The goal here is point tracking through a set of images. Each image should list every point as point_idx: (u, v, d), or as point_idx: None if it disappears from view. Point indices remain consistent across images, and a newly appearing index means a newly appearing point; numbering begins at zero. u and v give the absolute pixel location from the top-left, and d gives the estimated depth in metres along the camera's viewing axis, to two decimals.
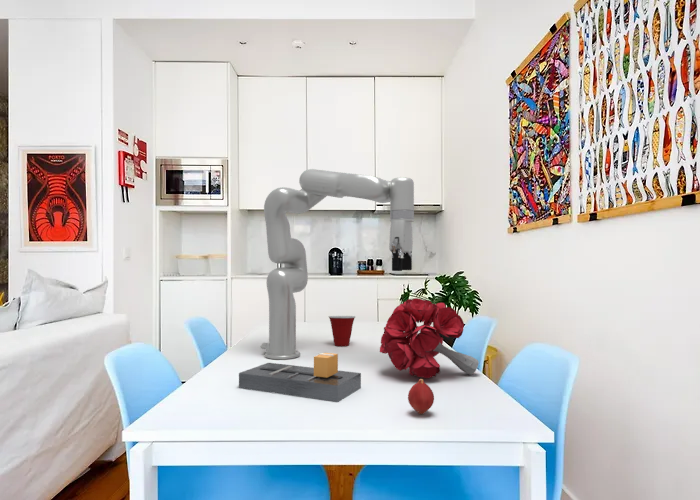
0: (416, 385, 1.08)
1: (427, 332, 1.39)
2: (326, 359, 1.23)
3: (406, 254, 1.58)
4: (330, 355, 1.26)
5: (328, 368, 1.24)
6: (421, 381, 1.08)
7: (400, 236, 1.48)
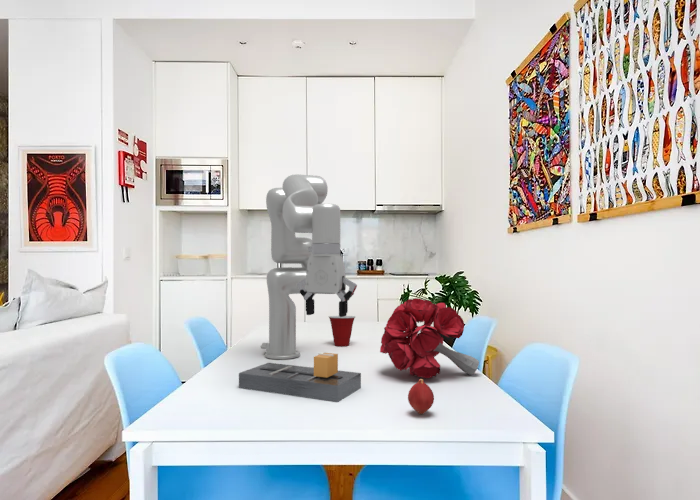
0: (416, 385, 1.08)
1: (427, 332, 1.39)
2: (326, 359, 1.23)
3: None
4: (330, 355, 1.26)
5: (328, 368, 1.24)
6: (421, 381, 1.08)
7: None
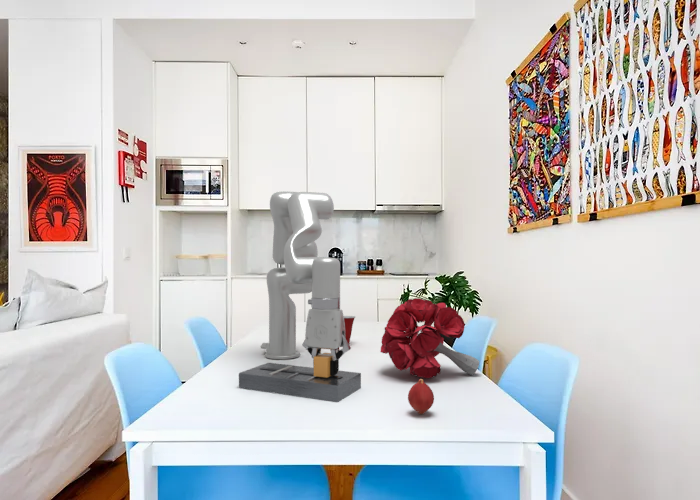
0: (416, 385, 1.08)
1: (428, 332, 1.39)
2: (326, 359, 1.23)
3: None
4: (330, 355, 1.26)
5: (328, 368, 1.24)
6: (421, 381, 1.08)
7: (344, 329, 1.26)
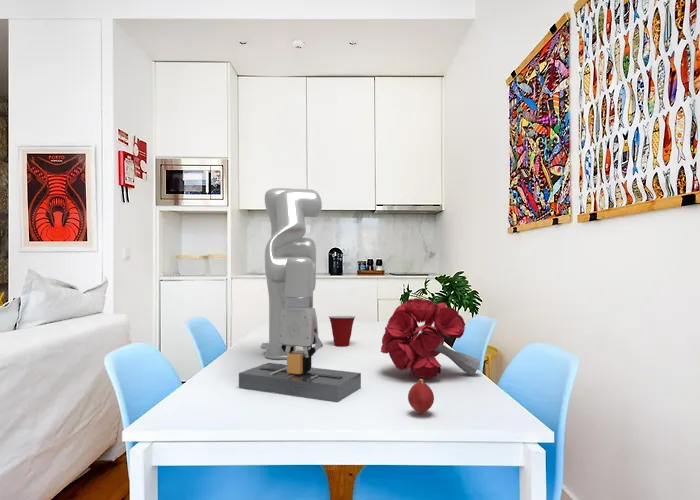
0: (416, 385, 1.08)
1: (428, 332, 1.39)
2: (298, 356, 1.27)
3: None
4: (303, 352, 1.29)
5: (301, 365, 1.27)
6: (421, 381, 1.08)
7: (317, 327, 1.29)
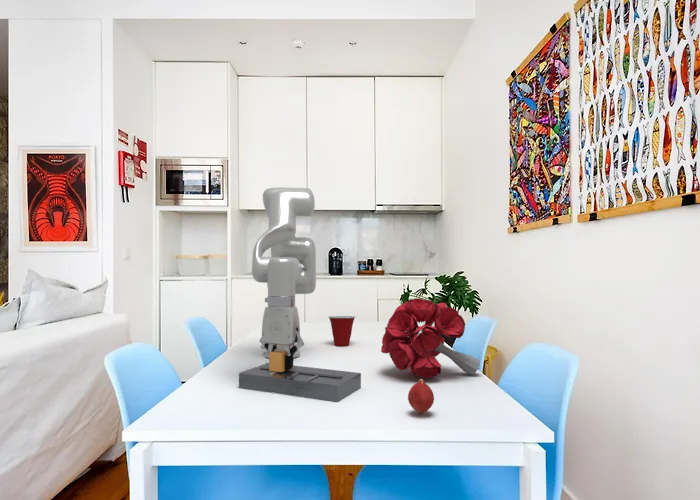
0: (416, 385, 1.08)
1: (428, 332, 1.39)
2: (280, 354, 1.29)
3: None
4: (285, 351, 1.32)
5: (283, 363, 1.30)
6: (421, 381, 1.08)
7: (299, 326, 1.32)
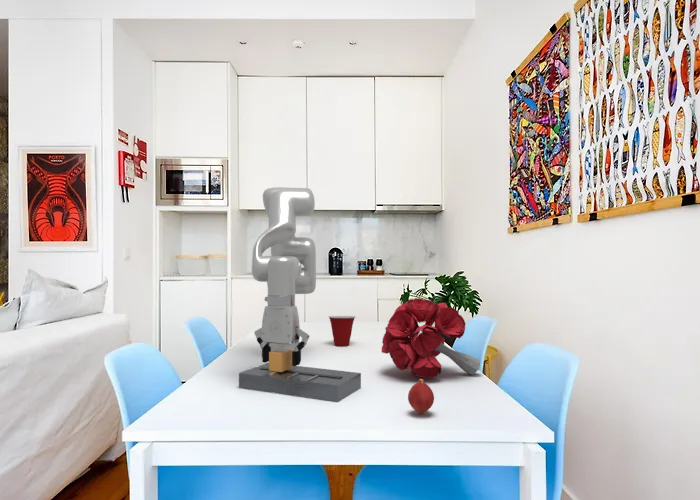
0: (416, 385, 1.08)
1: (429, 332, 1.39)
2: (280, 354, 1.29)
3: None
4: (285, 351, 1.32)
5: (282, 363, 1.30)
6: (421, 381, 1.08)
7: (298, 325, 1.32)
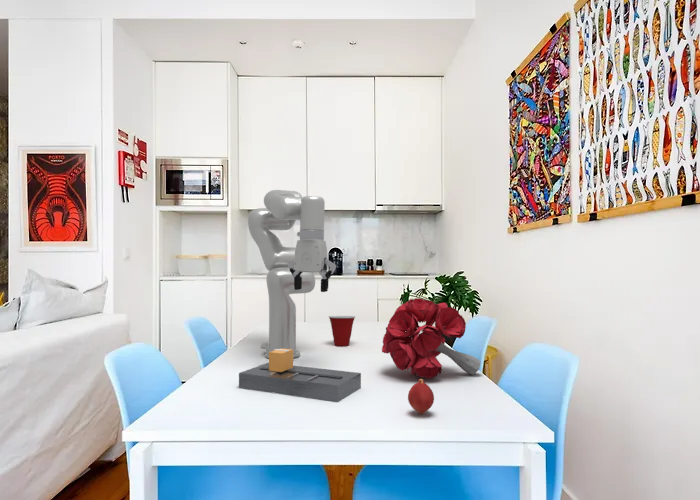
0: (416, 385, 1.08)
1: (429, 332, 1.39)
2: (280, 354, 1.29)
3: None
4: (285, 351, 1.32)
5: (282, 363, 1.30)
6: (421, 381, 1.08)
7: (327, 257, 1.49)
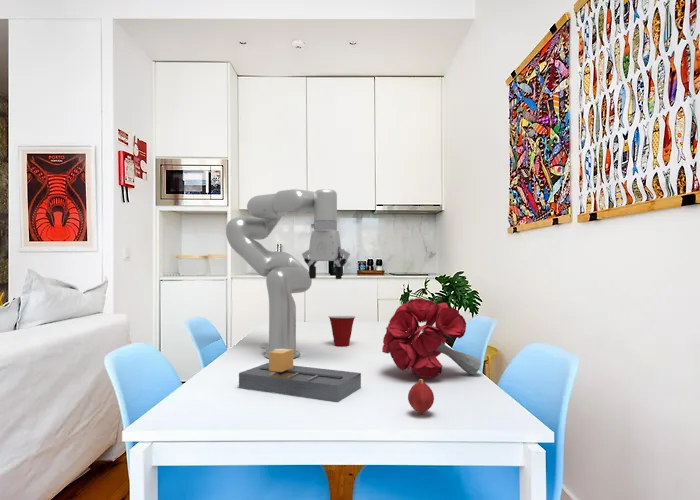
0: (416, 385, 1.08)
1: (429, 332, 1.39)
2: (280, 354, 1.29)
3: None
4: (285, 351, 1.32)
5: (282, 363, 1.30)
6: (421, 381, 1.08)
7: (340, 246, 1.58)
